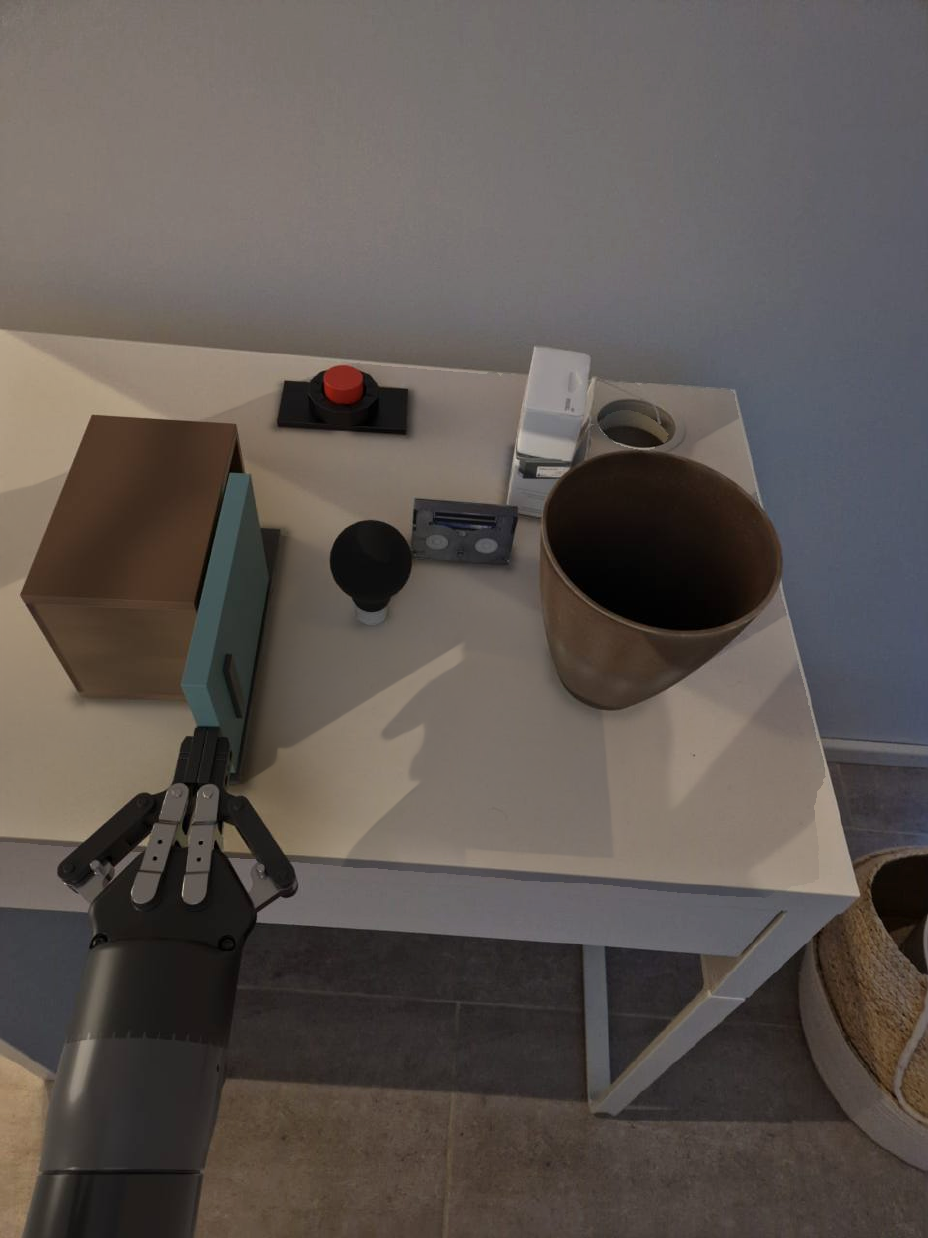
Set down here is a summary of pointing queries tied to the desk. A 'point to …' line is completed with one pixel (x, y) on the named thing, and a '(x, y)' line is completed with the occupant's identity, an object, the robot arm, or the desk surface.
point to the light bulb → (371, 566)
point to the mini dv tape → (463, 531)
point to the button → (343, 384)
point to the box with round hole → (586, 440)
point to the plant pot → (649, 572)
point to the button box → (343, 408)
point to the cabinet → (137, 556)
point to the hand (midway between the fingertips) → (210, 733)
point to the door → (228, 618)
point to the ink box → (548, 426)
